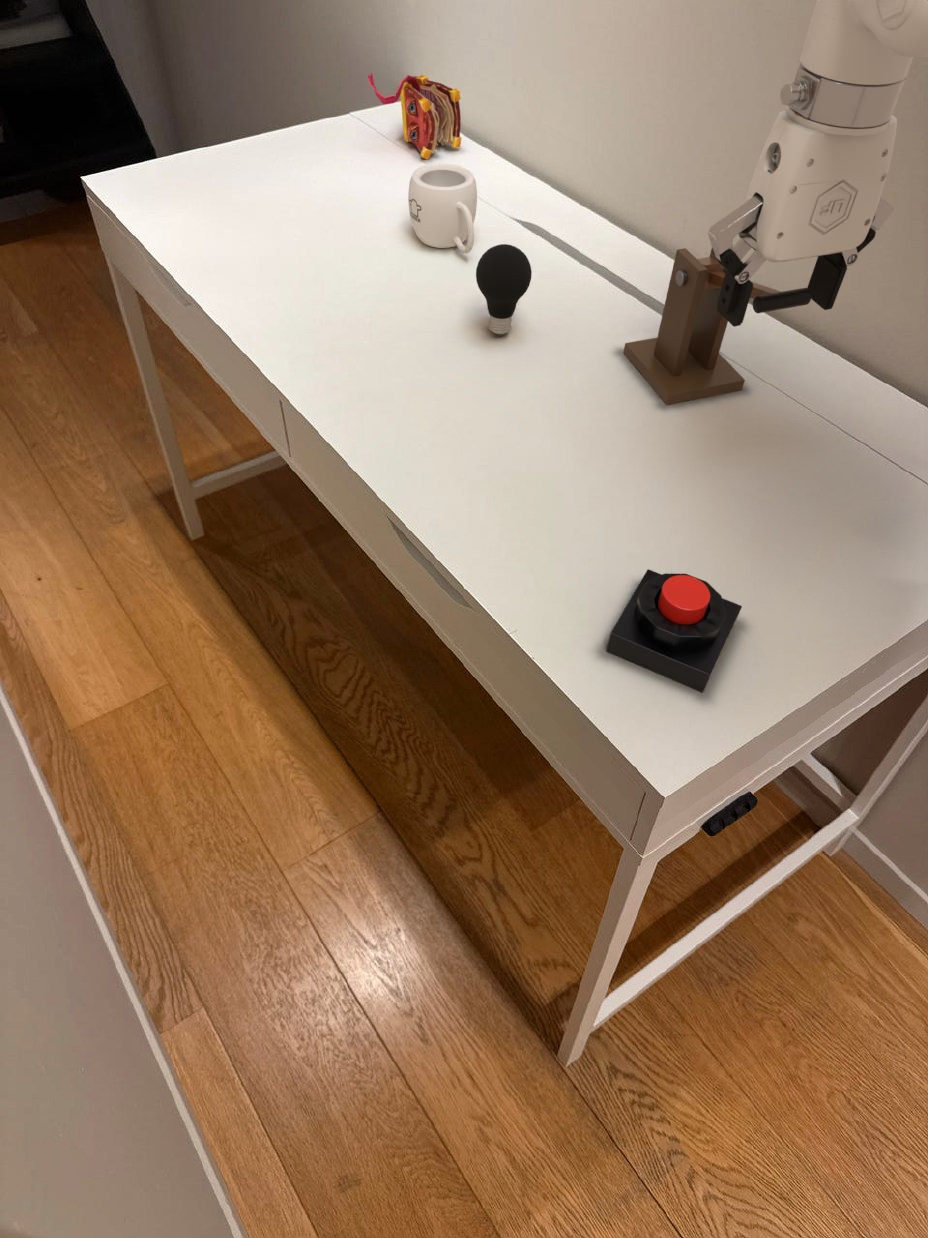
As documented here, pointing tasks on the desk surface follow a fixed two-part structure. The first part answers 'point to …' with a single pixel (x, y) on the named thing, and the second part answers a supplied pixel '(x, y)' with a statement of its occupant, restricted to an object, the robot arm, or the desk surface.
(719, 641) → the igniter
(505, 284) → the light bulb
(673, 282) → the bracket
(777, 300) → the lever
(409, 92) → the book monster
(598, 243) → the desk surface
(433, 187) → the mug
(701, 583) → the button
